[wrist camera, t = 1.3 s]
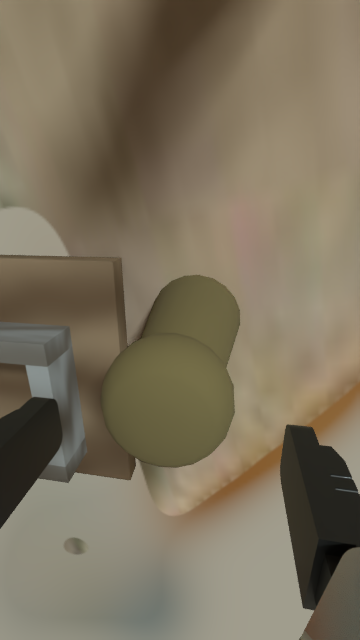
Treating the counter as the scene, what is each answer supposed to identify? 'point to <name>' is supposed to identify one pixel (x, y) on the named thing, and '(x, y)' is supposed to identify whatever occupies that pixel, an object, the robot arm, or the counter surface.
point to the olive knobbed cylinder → (175, 376)
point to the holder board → (64, 352)
